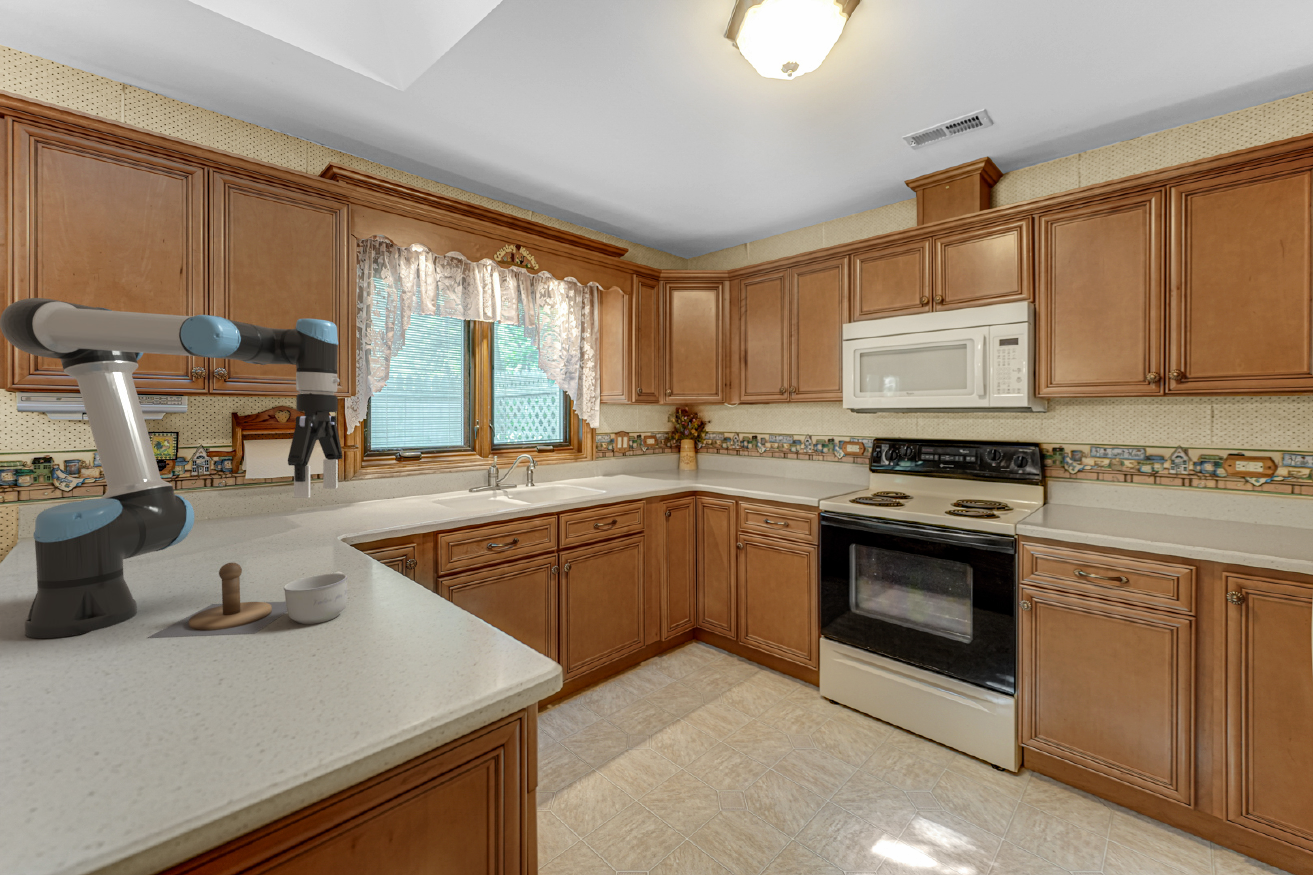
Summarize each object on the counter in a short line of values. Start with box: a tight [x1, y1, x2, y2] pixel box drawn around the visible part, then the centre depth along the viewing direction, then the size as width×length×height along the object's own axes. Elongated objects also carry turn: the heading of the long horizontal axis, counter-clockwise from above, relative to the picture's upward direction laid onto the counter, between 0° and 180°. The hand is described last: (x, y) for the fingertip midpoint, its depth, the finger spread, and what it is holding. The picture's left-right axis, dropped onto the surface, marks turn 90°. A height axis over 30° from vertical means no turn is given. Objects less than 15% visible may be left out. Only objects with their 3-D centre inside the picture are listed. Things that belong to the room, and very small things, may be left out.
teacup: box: [283, 570, 349, 625], centre depth 113 cm, size 14×11×8 cm
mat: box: [146, 601, 288, 639], centre depth 111 cm, size 18×18×1 cm
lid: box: [189, 562, 272, 630], centre depth 111 cm, size 13×13×11 cm
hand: (317, 492), depth 120 cm, fingers open, 13 cm apart
